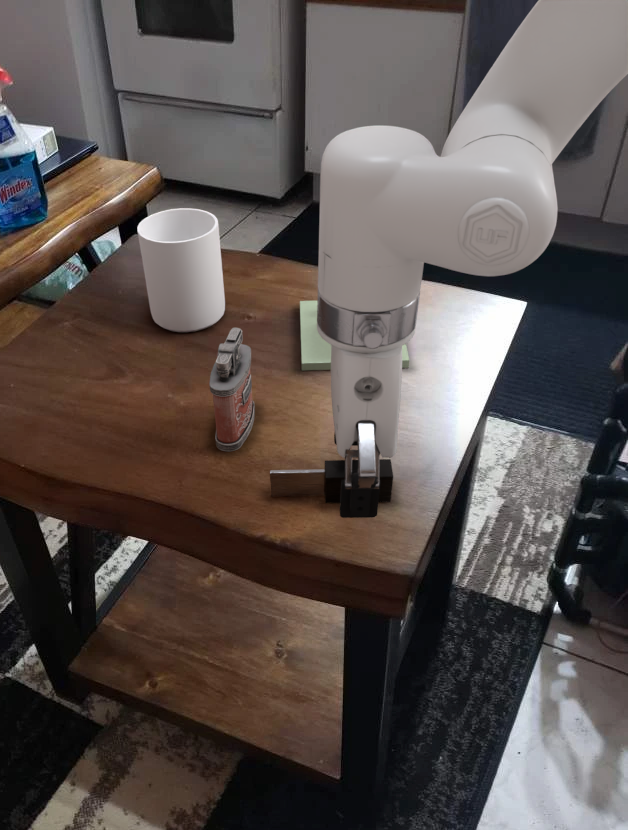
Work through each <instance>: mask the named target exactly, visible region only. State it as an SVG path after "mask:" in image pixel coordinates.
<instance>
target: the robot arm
mask: <svg viewBox="0 0 628 830" xmlns="http://www.w3.org/2000/svg"><path fill="white" fill-rule="evenodd" d="M627 76H628V0H537V2H536V3H535V4H534V6H533V7H532V8H531V9H530V11H529V12H528V14H527V15H526V16H525V18H524V19H523V20H522V21H521V23H520V25H518V27H517V29H516V30H515V32H514V33H513V35H512V36H511V37H510V39H508V41H507V43H506V44H505V46H504V48H503V49H502V51H501V52H500V54H499V55H498V57H497V58H496V60H495V61H494V63H493V64H492V66H491V67H490V68H489V70H488V71H487V73H486V75H485V76H484V78H483V80H482V81H481V82H480V84H479V86H477V89H476V90H475V92H474V93H473V95H472V96H471V98H470V99H469V101H468V102H467V104H466V105H465V107H464V108H463V110H462V112H461V113H460V115H459V117H458V118H457V120H456V122H455V123H454V124H453V127H452V128H451V130H450V132H449V133H448V135H447V138H446V140H445V142H444V145H443V147H442V150H441V153H440V155H437V153H436V150H435V148H434V146H433V144H432V142H430V140H429V139H428V138H426V136H424V135H423V134H421V133H419V132H417V131H416V130H412V129H410V128H405V127H400V126H395V125H378V124H377V125H367V126H359V127H354V128H352V129H347V130H345V131H343V132H340V133H338V134H337V135H336V136H334V137H333V138H332V139H331V140H330V141H329V142H328V144H327V145H326V146H325V149H324V151H323V153H322V156H321V163H320V175H319V176H320V178H319V179H320V180H319V217H318V218H319V223H318V224H319V225H318V262H317V263H318V267H317V299H316V301H317V331H318V333H319V335H320V336H321V337H322V338H323V339H324V340H325V341H326V342H327V343H329V344H331V370H330V391H331V393H330V394H331V395H330V396H331V397H330V398H331V408H332V419H333V428H334V435H333V436H334V437H333V442H334V445H335V446H336V452H337V454H338V455H339V456H340V457H341V458H343V459H344V460H345V480H341V495H340V503H339V516H340V518H342V519H374V518H376V517H378V512H379V503H380V502H379V494H380V485H381V483H380V480H379V467H380V459H381V457H382V458H388V459H392V458H393V457H394V456H395V455H396V454H397V451H398V437H399V423H400V409H401V400H402V399H401V397H402V381H403V380H402V379H403V368H402V345H404V344H406V345H407V343H408V342H410V341H411V340H412V338H413V337H414V335H415V333H416V326H417V320H418V313H419V305H420V296H421V289H422V283H423V273H424V267H425V266H424V265H425V263H426V264H429V265H433V266H437V267H440V268H443V269H446V270H447V269H448V270H449V271H450V270H451V271H455V272H458V273H463V274H468V275H473V276H480V277H499V276H505V275H511V274H514V273H517V272H519V271H521V270H523V269H525V268H526V267H528V266H529V265H531V264H533V263H534V262H535V261H537V259H539V257H540V256H541V255H542V254H543V253H544V252H545V251H546V249H547V247H548V246H549V244H550V242H551V241H552V238H553V236H554V233H555V230H556V227H557V222H558V221H557V220H558V210H559V207H558V197H557V192H556V184H555V178H554V177H555V176H554V170H553V163H554V162H555V161H556V159H557V158H558V156H559V155H560V154H561V153H562V151H563V150H564V149H565V147H566V146H567V145H568V144H569V142H570V141H571V140H572V138H573V137H574V135H575V134H576V133H577V131H578V130H579V129H580V128H581V127H582V125H583V124H584V123H585V122H586V120H587V119H588V118H589V117H590V115H591V114H592V113H593V112H594V111H595V109H596V108H597V107H598V106H599V105H600V103H601V102H602V101H603V100H604V99H605V98H606V97H607V96H608V94H609V93H610V92H611V91H612V90H613V89H614V88H615V87H616V86H617V85H618V84H619V83H620V82H621V81H623V79H624V78H625V77H627ZM353 446H354V447H357V449H351V448H352V447H353ZM380 456H381V457H380ZM353 458H357V460H358V473H354V474H352V460H353Z"/></svg>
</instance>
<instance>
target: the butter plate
mask: <svg viewBox="0 0 628 830" xmlns="http://www.w3.org/2000/svg"><path fill="white" fill-rule="evenodd" d="M299 325H300V362H301V363H300V364H301V371H328V370H329V371H331V344H329V343H327V342H326V341H325V340H324V339H323V338H322V337H321V336H320V335H319V333H318V331H317V300H299ZM409 367H410V357H409V352H408V347H407V343H406V344H404V345H402V369H405V368H406V369H407V368H408V369H409Z"/></svg>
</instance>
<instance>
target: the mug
mask: <svg viewBox="0 0 628 830" xmlns="http://www.w3.org/2000/svg"><path fill="white" fill-rule="evenodd" d="M136 227H137V237H138V243H139V249H140V256H141V261H142V267H143V274H144V280H145V285H146V292H147V299H148V304H149V310H150V314H151V318H152V320H153V321H154V323H155V324H156V325H158V326H159V327H161V328H162V329H165V330H167V331H171V332H174V333H175V332H176V333H193V332H198V331H203V330H205V329H207V328H210V327H212V326H214V325H215V324H216V323H217V322H219V321H220V319H221V318H222V317H223V316H224V314H225V311H226V297H225V286H224V275H223V262H222V252H221V238H220V225H219V219H218V218H217V216H216V215H215V214H213V213H211V212H209V211H207V210H203V209H199V208H193V207H192V208H191V207H189V208H188V207H184V208H183V207H181V208H171V209H170V208H169V209H165V210H161V211H158V212H155V213H152V214H151V215H148V216H147V217H145V218H143V219H141V221H140V222H139V223H138V225H137V226H136Z"/></svg>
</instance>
